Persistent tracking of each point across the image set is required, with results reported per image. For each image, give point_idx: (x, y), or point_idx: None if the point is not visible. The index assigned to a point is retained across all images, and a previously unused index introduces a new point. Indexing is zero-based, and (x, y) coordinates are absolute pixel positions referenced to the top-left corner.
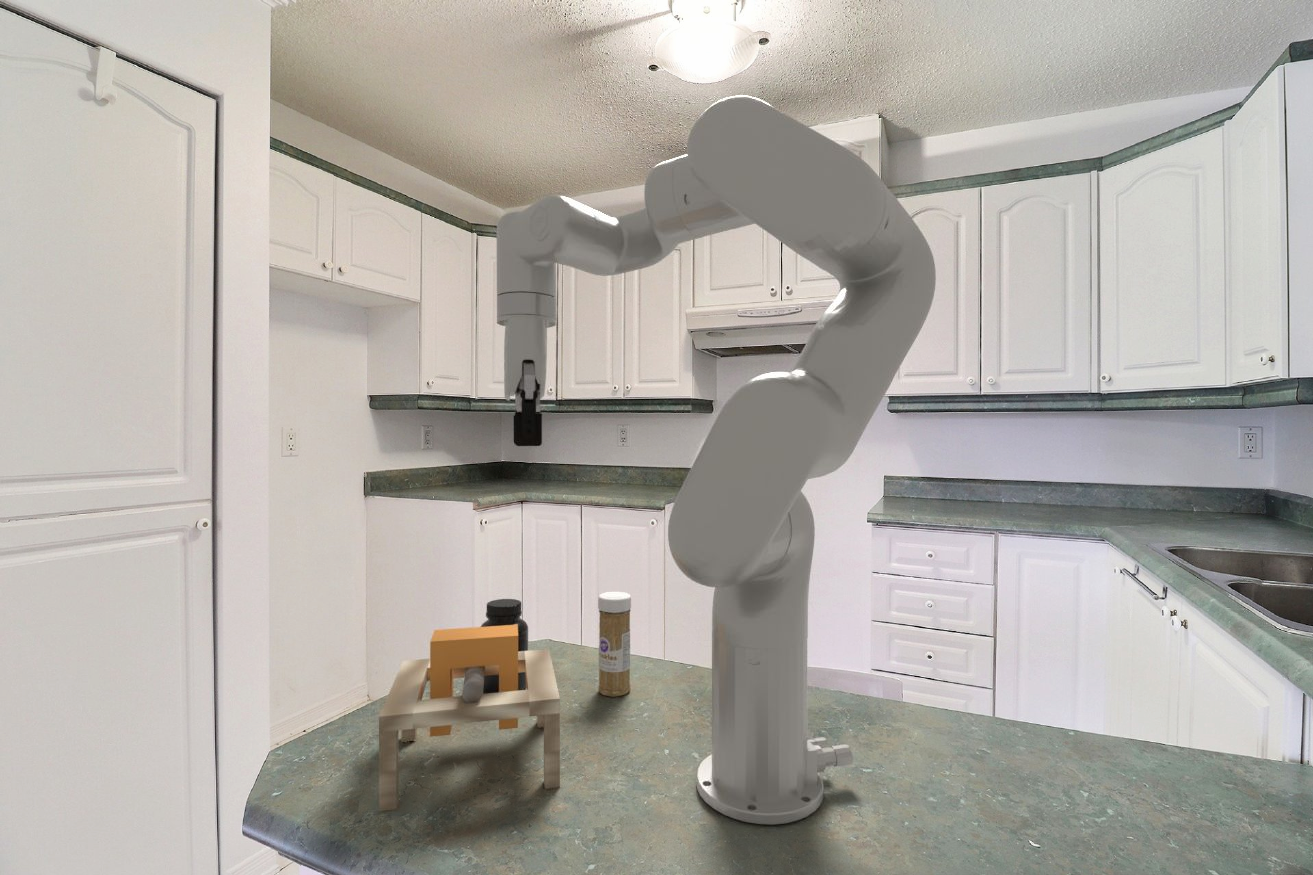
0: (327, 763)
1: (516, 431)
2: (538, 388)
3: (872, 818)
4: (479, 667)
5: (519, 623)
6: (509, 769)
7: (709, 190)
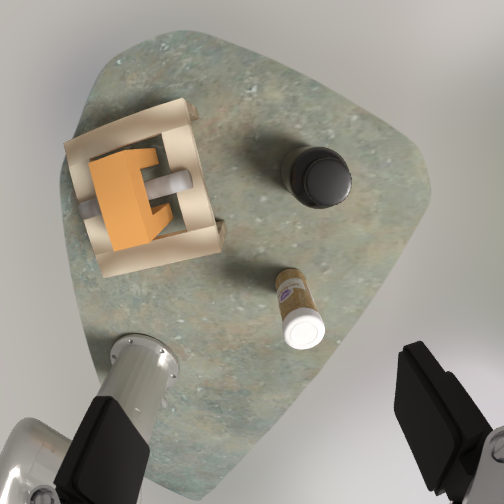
0: (155, 70)
1: (80, 431)
2: None
3: None
4: None
5: (312, 201)
6: None
7: None
